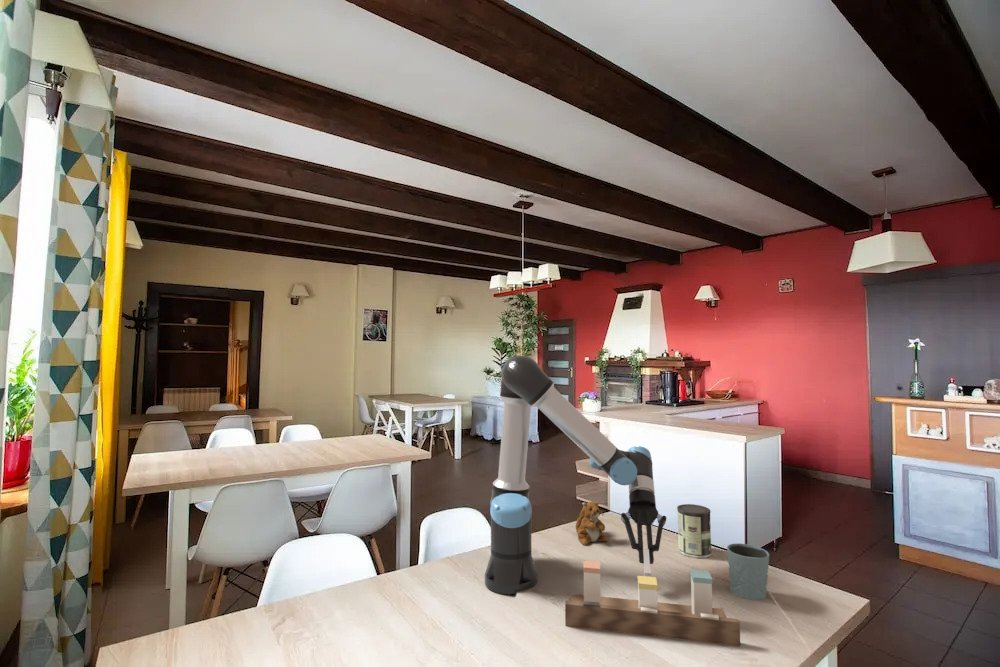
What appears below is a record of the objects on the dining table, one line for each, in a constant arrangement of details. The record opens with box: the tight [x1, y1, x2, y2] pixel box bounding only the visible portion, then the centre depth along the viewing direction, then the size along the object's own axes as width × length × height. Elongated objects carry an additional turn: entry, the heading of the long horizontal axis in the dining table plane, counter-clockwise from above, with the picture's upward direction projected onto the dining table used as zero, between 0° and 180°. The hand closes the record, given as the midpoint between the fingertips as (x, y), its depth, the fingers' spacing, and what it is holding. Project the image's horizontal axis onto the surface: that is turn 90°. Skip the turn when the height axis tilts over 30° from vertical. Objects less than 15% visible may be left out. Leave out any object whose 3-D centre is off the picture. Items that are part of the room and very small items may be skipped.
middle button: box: [637, 575, 659, 610], centre depth 114 cm, size 4×4×10 cm
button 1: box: [582, 560, 601, 604], centre depth 122 cm, size 4×4×10 cm
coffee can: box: [676, 503, 712, 559], centre depth 159 cm, size 10×10×14 cm
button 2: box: [689, 569, 713, 615], centre depth 117 cm, size 4×4×10 cm
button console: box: [564, 592, 741, 647], centre depth 117 cm, size 38×16×6 cm, turn 78°
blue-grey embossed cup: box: [726, 543, 770, 601], centre depth 130 cm, size 10×10×12 cm
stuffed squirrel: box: [575, 501, 609, 546], centre depth 172 cm, size 10×14×13 cm
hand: (647, 575), depth 129 cm, fingers closed
